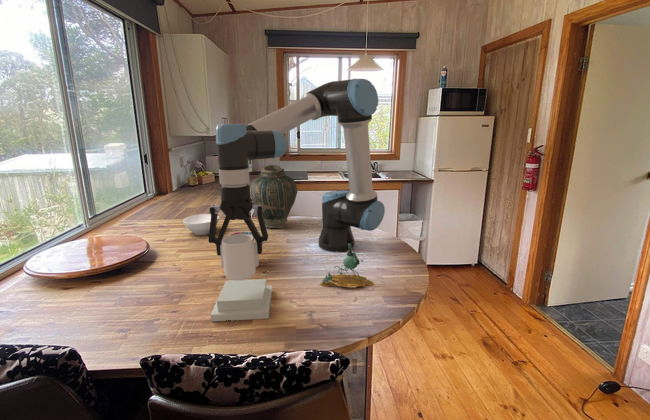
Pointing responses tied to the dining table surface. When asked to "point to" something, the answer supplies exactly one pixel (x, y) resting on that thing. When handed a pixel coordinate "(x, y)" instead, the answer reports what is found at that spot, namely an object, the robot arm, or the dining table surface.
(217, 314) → the plinth
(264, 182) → the vase
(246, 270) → the mug
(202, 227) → the bowl
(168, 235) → the dining table surface
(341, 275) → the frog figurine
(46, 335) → the dining table surface
